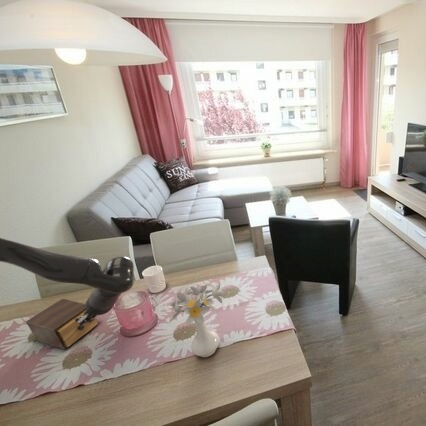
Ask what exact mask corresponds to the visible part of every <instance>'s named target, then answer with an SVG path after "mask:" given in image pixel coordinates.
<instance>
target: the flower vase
mask: <svg viewBox="0 0 426 426" xmlns="http://www.w3.org/2000/svg"><path fill="white" fill-rule="evenodd" d="M207 288H208V286H207V285H202V286H201V287H199V288H197V287H195V286H190V287H189V289H188V290H186V292H185V294H184V293H183V292H182V291H178V292H177V294H176V296H177V297H176V298H175V301H173V302H172V303H170V307H171V313H173V314H172V315H171V317H170V318H169V321H168V323H169V324H170V323H172V322H173V321H174V320H175V318H177V316H179V315H180V314H181V313H184V314H186V315H188V317H187V318H186V320H185V324H186V325H187V326H189V325H191V324H192V323H193V322H194V325H195V330H196V334H195V336H194V337H193V338H192V341H191V344H190V349H191V350H190V351H191V353H193V354H194V355H195V356H197V357H200V358H208V357H210V356H212V355H213V354H214V353H215V352H216V351H217V348H218V347H219V345H220V341H221V340H220V336H219V334H218V333H217V332H215V331H214V330H210V329H208V327H207V325H206V321H205V318H204V314H207V313H208V312H209V311H210V309H212V310H214V311H216V307H214V306H213V304H214V302H215V301H214V300H213V299H216V301H218V302H219V303H220V304H223V299H222V297H225V296H226V292H225V291H224V290H221V282H220V281H218V282H217V283H216V285H215V284H213V283H212V284H211V289H207ZM210 293H211V294H210ZM207 294H208V295H207ZM210 297H213V299H211V298H210ZM183 307H184V309H183V310H182V308H183Z"/></svg>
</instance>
